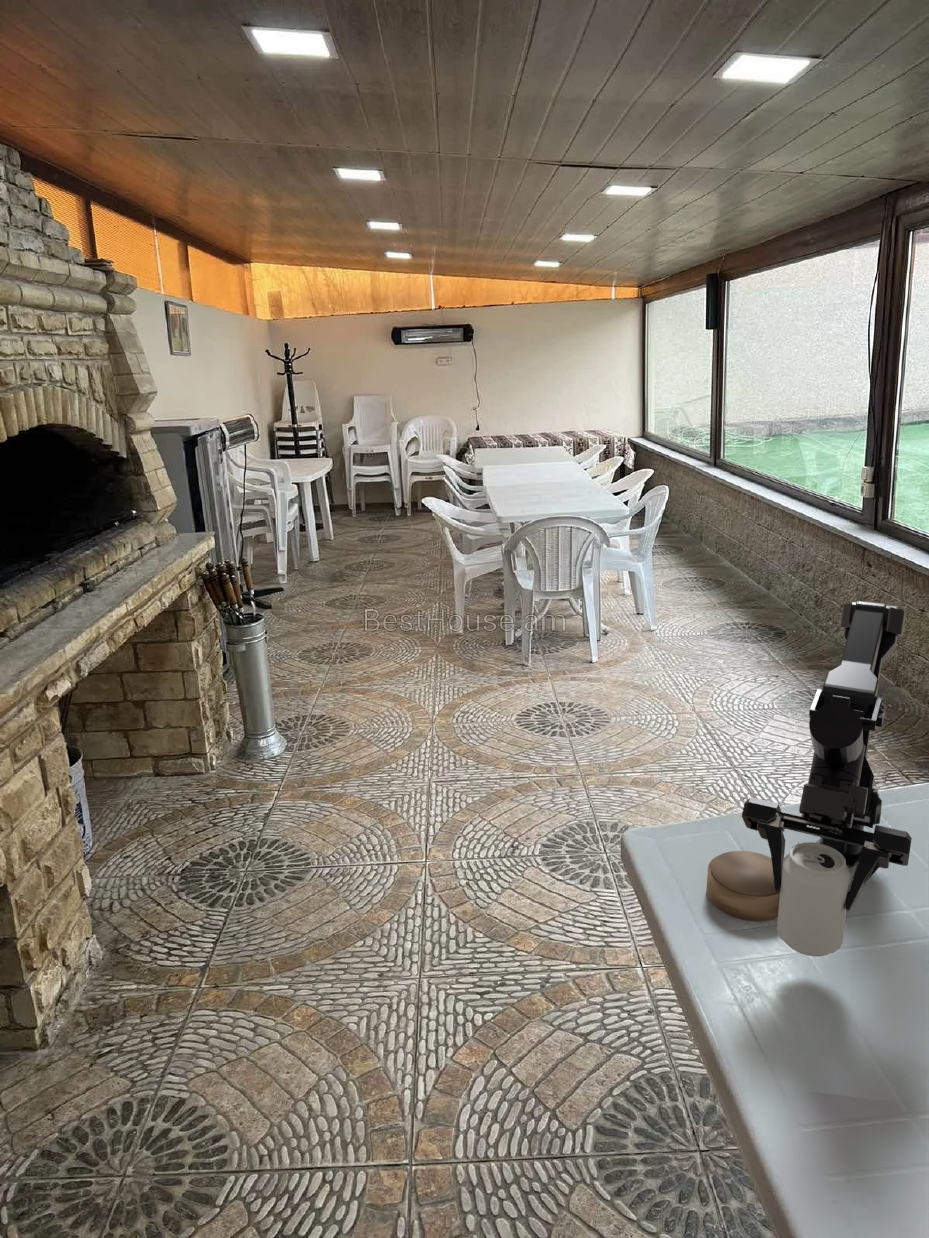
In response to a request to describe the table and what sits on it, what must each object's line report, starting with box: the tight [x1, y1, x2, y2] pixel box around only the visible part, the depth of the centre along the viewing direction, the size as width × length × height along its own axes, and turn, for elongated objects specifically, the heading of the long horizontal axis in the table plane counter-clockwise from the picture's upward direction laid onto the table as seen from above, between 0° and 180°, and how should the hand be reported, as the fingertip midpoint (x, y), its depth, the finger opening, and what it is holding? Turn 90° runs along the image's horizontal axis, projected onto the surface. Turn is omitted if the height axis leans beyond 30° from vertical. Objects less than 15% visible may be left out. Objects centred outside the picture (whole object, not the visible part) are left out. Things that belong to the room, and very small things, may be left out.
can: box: [776, 842, 851, 957], centre depth 103 cm, size 8×8×12 cm
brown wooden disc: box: [706, 850, 781, 922], centre depth 120 cm, size 11×11×4 cm
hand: (811, 900), depth 102 cm, fingers closed on can, 7 cm apart
